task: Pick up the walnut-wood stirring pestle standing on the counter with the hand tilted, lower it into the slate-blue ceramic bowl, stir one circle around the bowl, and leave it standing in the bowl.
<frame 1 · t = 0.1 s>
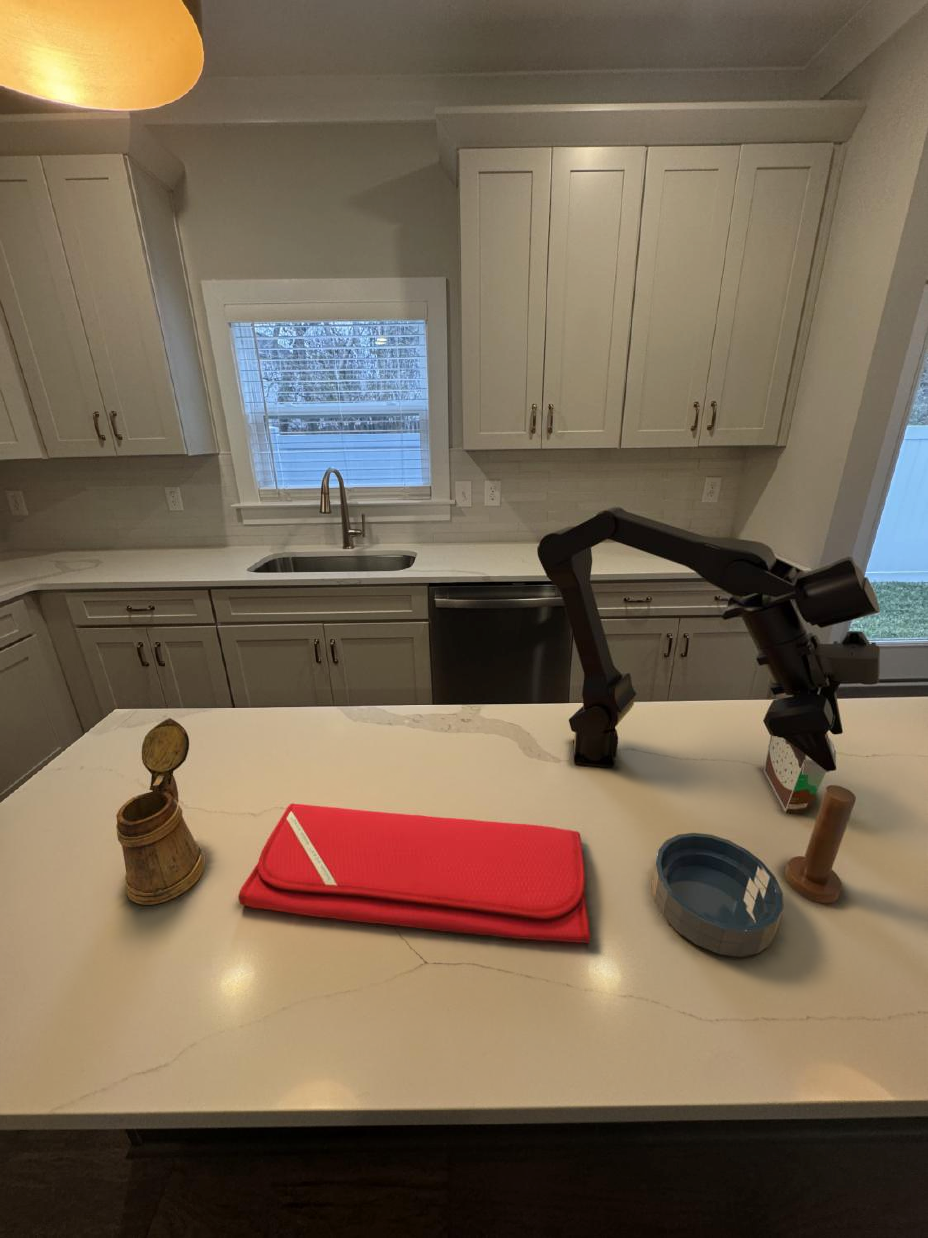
hand: (835, 751, 63), 15 cm above the table, tool tilted 35°, fingers open, 9 cm apart
bowl: (710, 904, 60), on the table
food container: (795, 794, 77), on the table
wooden mug: (176, 861, 68), on the table
stirring pestle: (811, 883, 63), on the table
red folding pouch: (420, 875, 65), on the table
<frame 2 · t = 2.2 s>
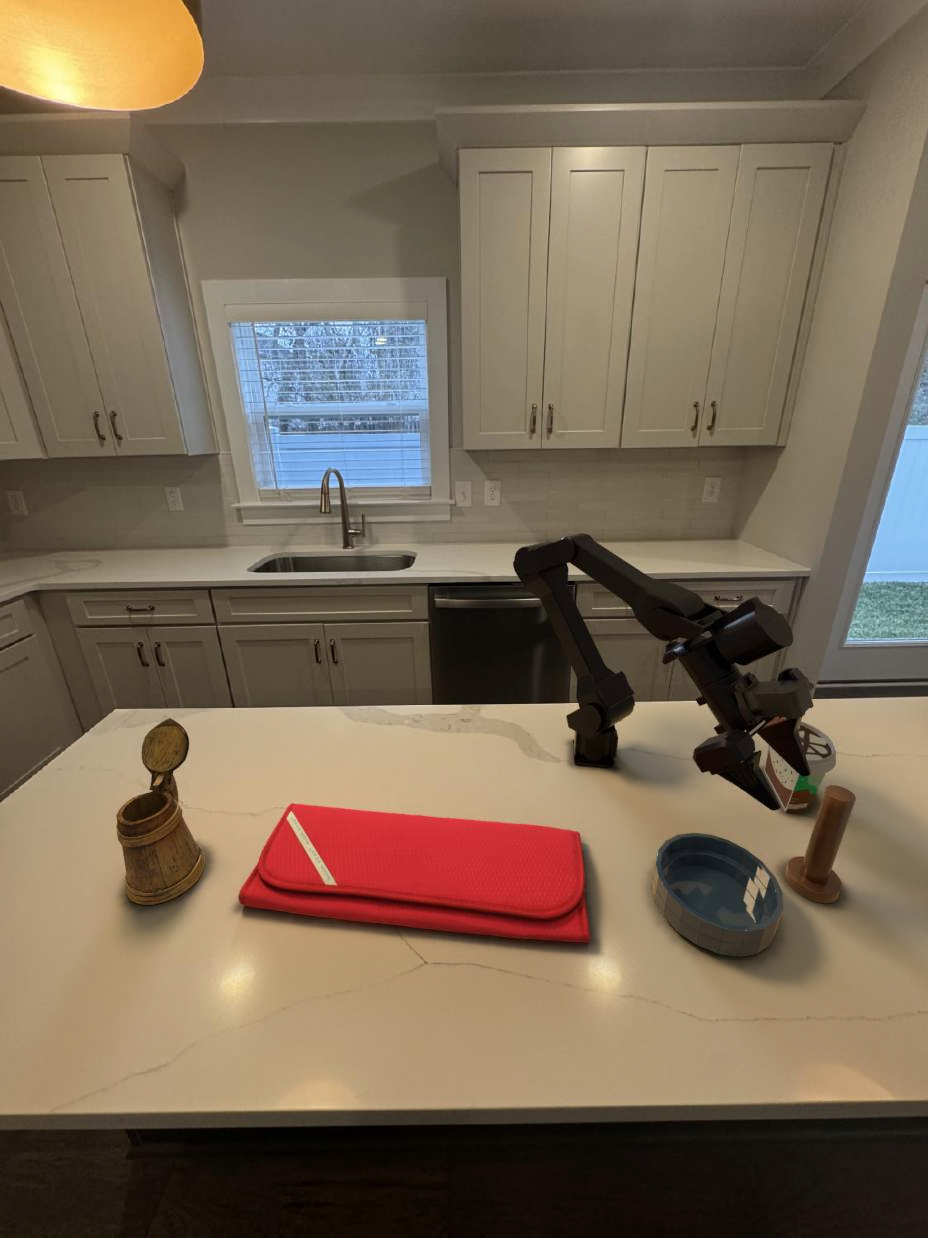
hand: (792, 792, 62), 11 cm above the table, tool tilted 45°, fingers open, 9 cm apart
nothing on the table moved.
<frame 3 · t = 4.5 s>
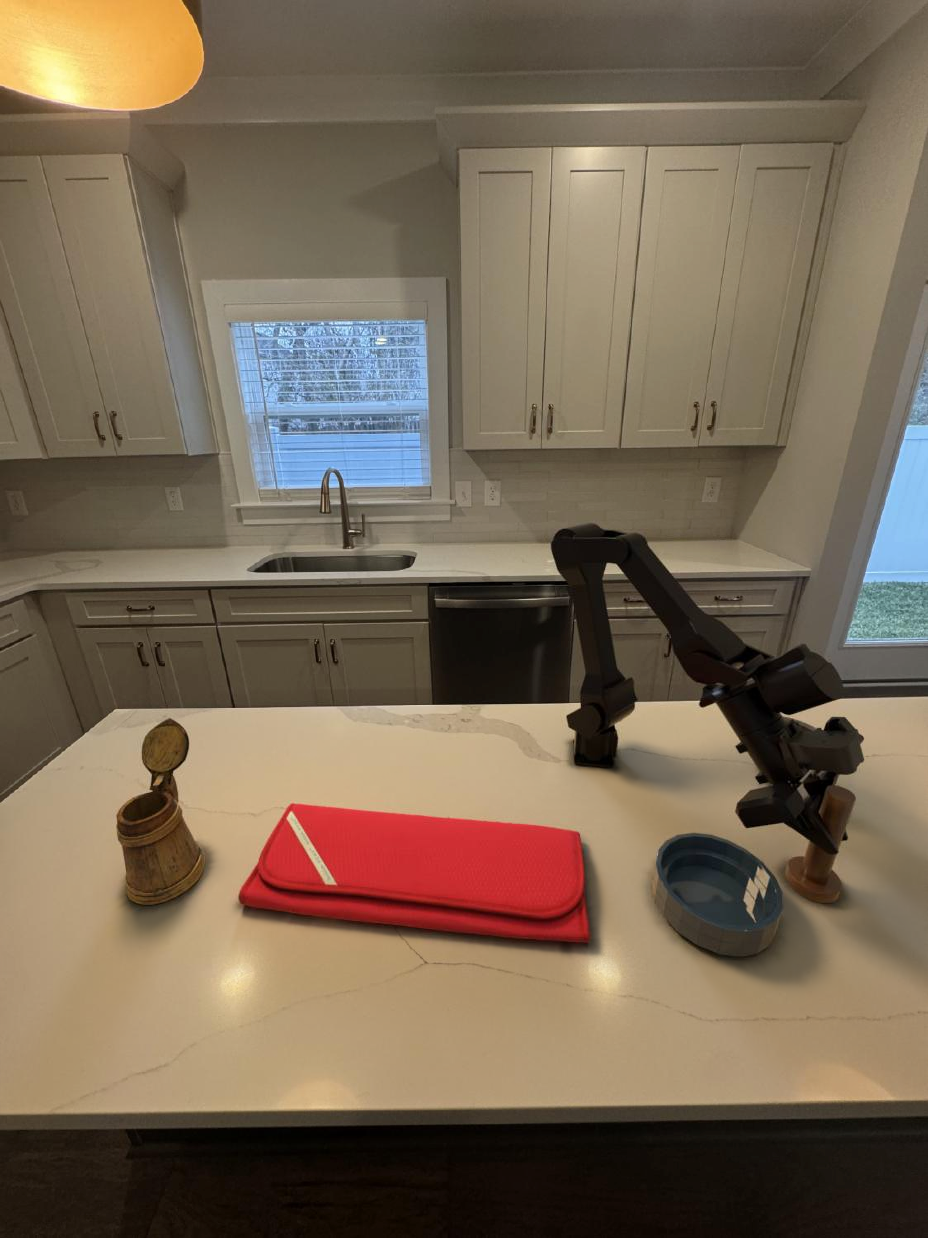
hand: (839, 847, 59), 7 cm above the table, tool tilted 45°, fingers closed on stirring pestle, 3 cm apart
stirring pestle: (811, 883, 63), on the table, touching gripper
everything else where it was.
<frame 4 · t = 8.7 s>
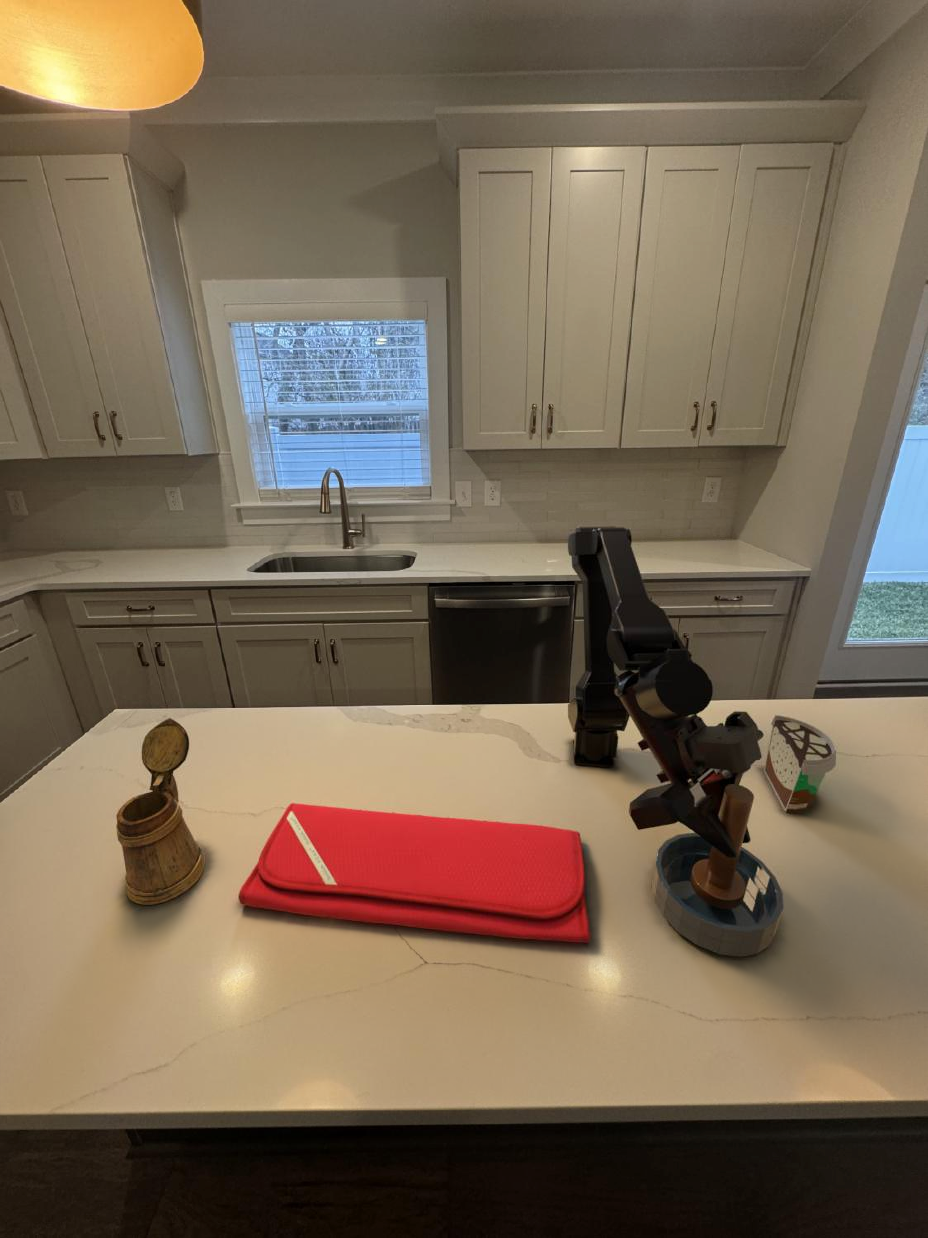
hand: (739, 849, 55), 10 cm above the table, tool tilted 45°, fingers closed on stirring pestle, 3 cm apart
stirring pestle: (716, 887, 59), point 3 cm above the table, touching gripper
everything else where it was.
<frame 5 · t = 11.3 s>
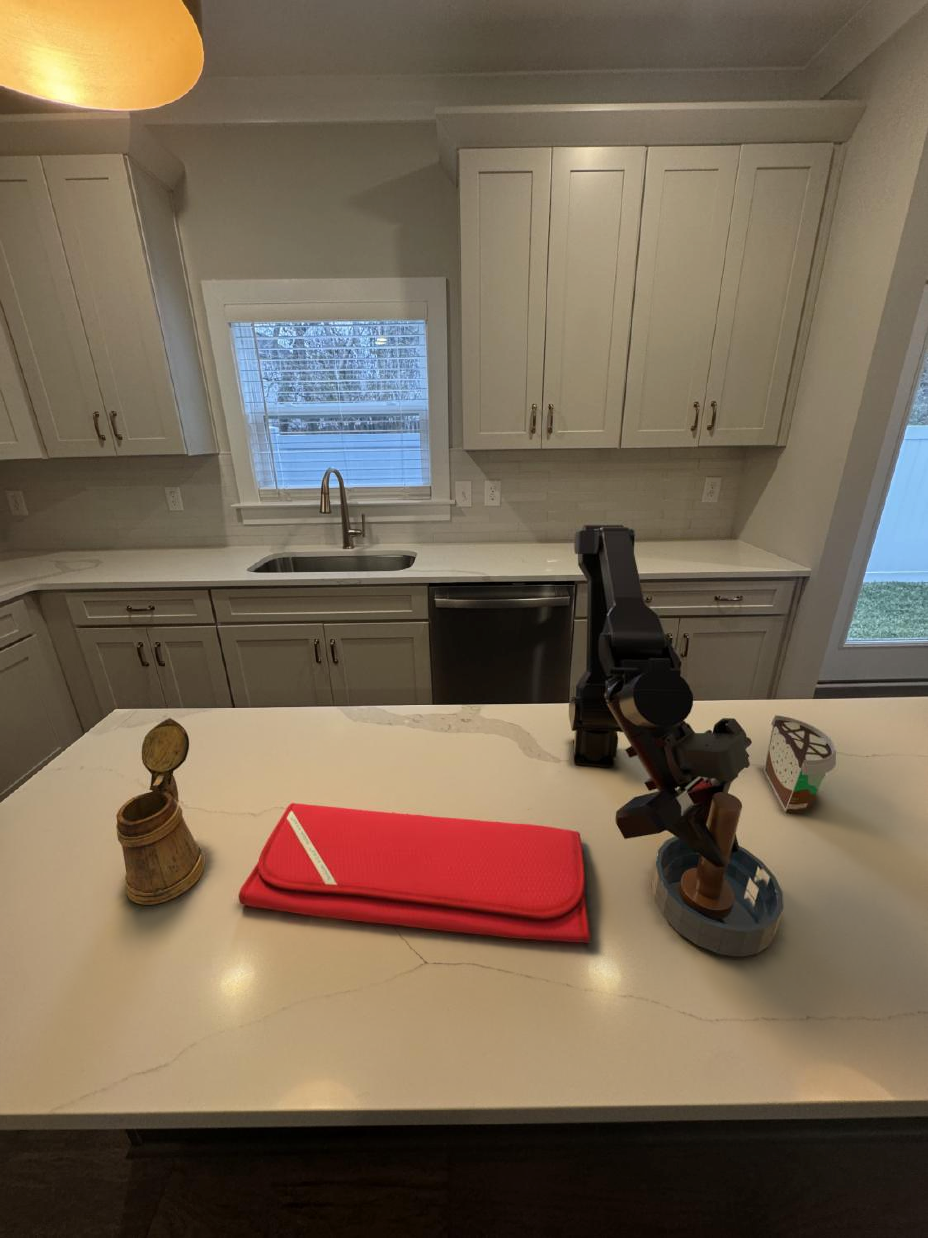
hand: (728, 858, 55), 10 cm above the table, tool tilted 45°, fingers closed on stirring pestle, 3 cm apart
stirring pestle: (705, 897, 58), point 3 cm above the table, touching gripper
everything else where it was.
when the fingers open (8 cm above the table, at t = 13.1 s): stirring pestle stays where it is, resting on bowl.
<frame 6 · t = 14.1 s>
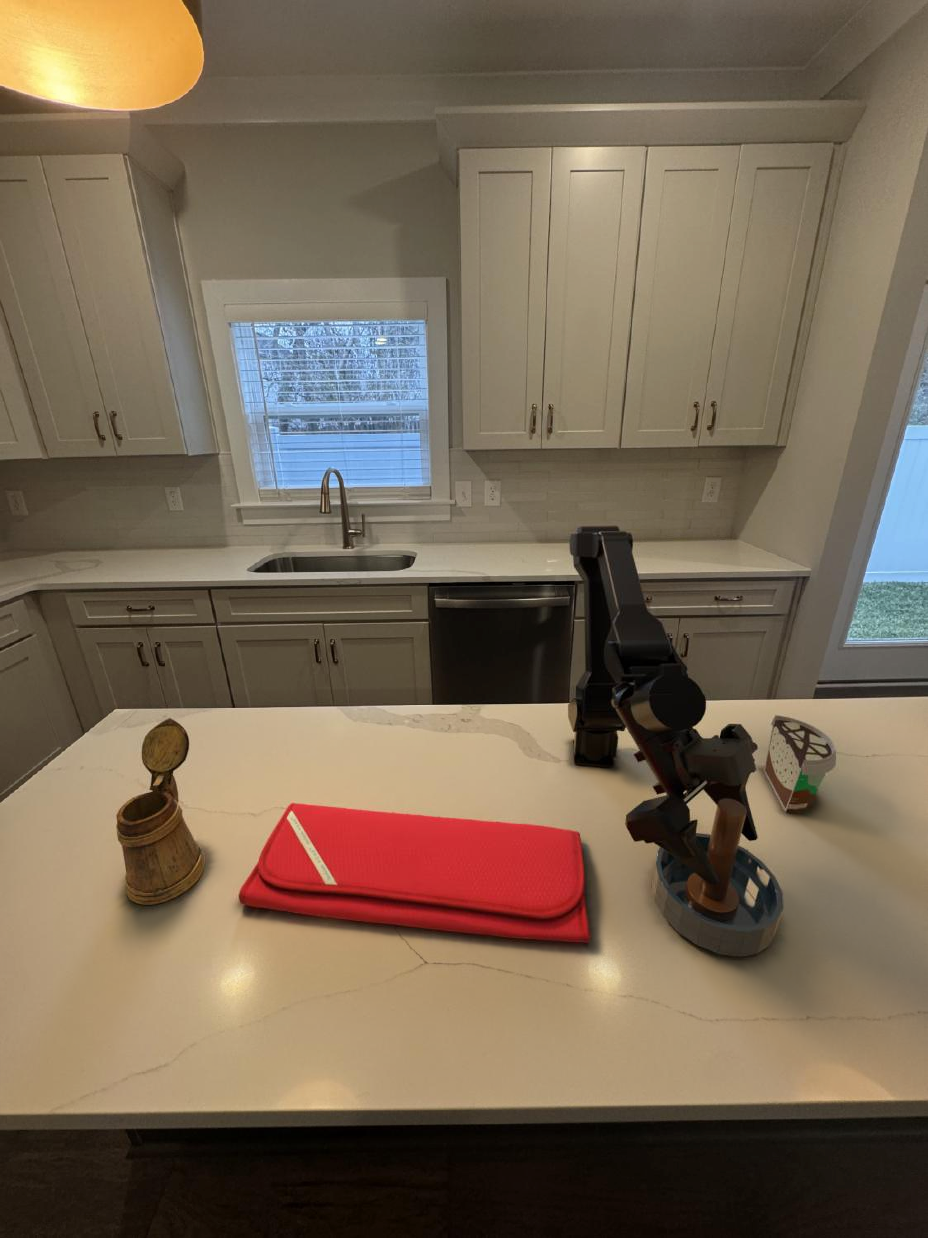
hand: (735, 860, 56), 8 cm above the table, tool tilted 45°, fingers open, 9 cm apart
stirring pestle: (710, 899, 60), point 1 cm above the table, touching bowl
everything else where it was.
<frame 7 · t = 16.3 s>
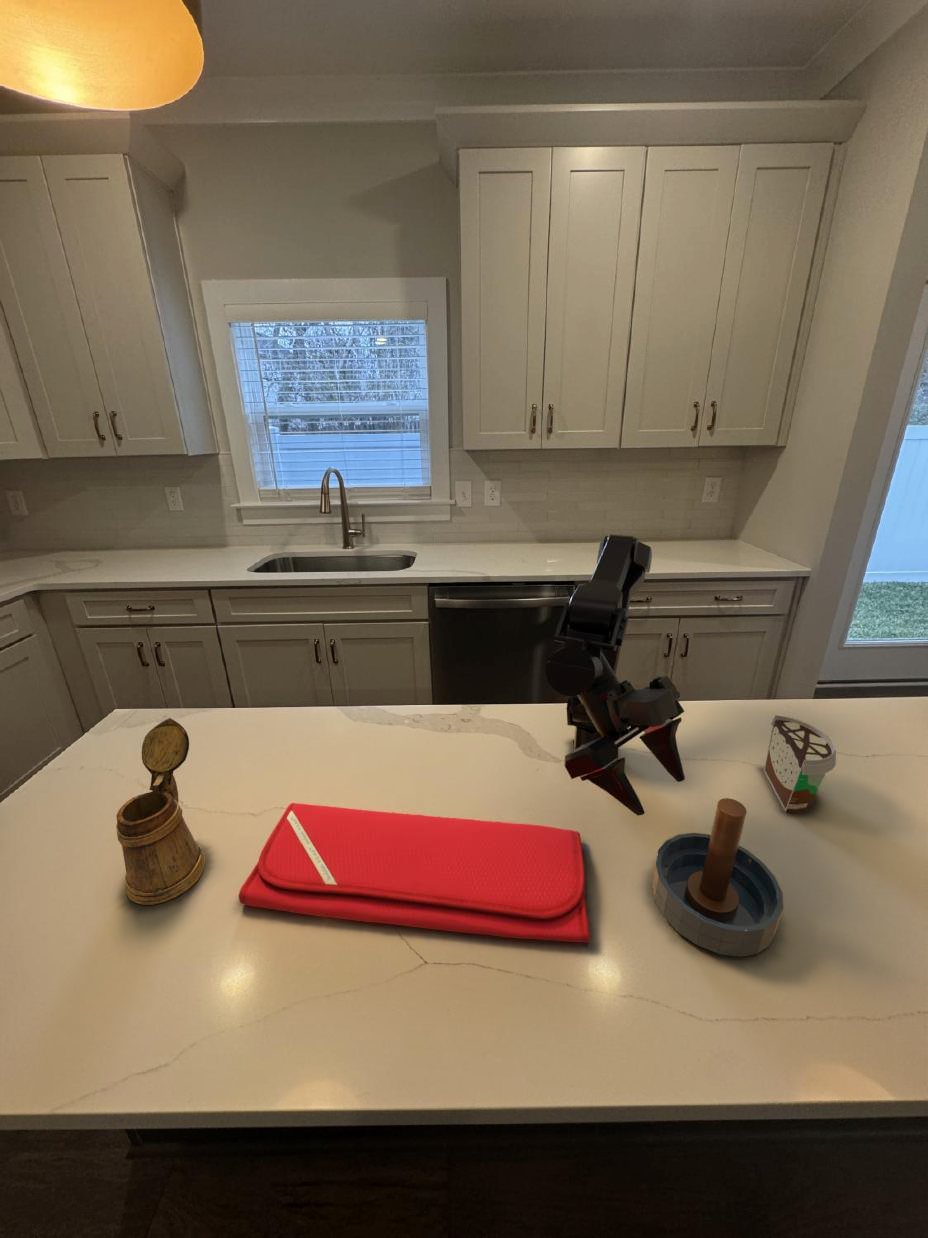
hand: (662, 797, 63), 10 cm above the table, tool tilted 45°, fingers open, 9 cm apart
nothing on the table moved.
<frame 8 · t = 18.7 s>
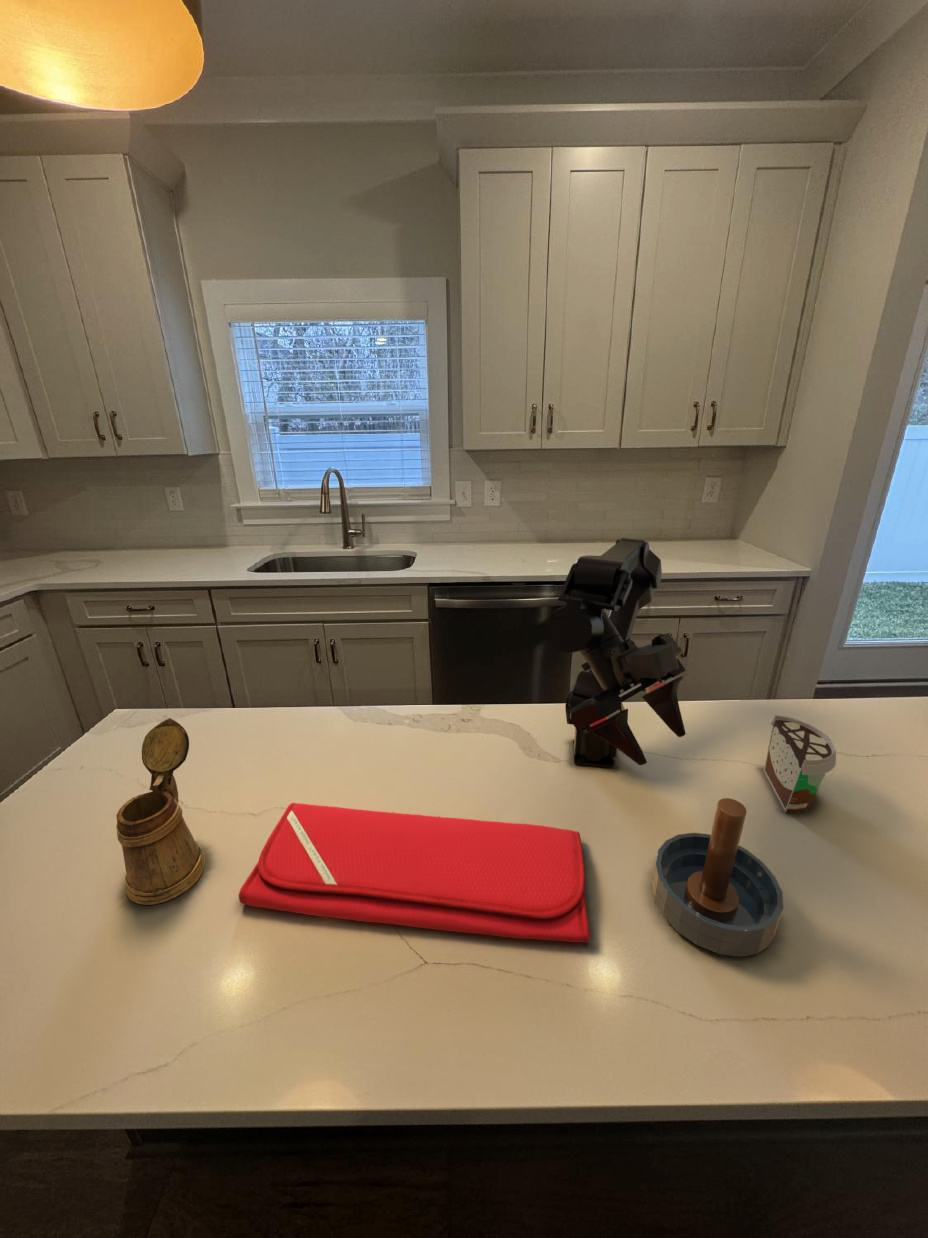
hand: (663, 749, 66), 14 cm above the table, tool tilted 45°, fingers open, 9 cm apart
nothing on the table moved.
at the end: stirring pestle inside the target area in the bowl (0.2 cm from its centre), point 0.6 cm above the bowl's base; stirring pestle tilted 0°; the gripper is holding nothing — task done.
